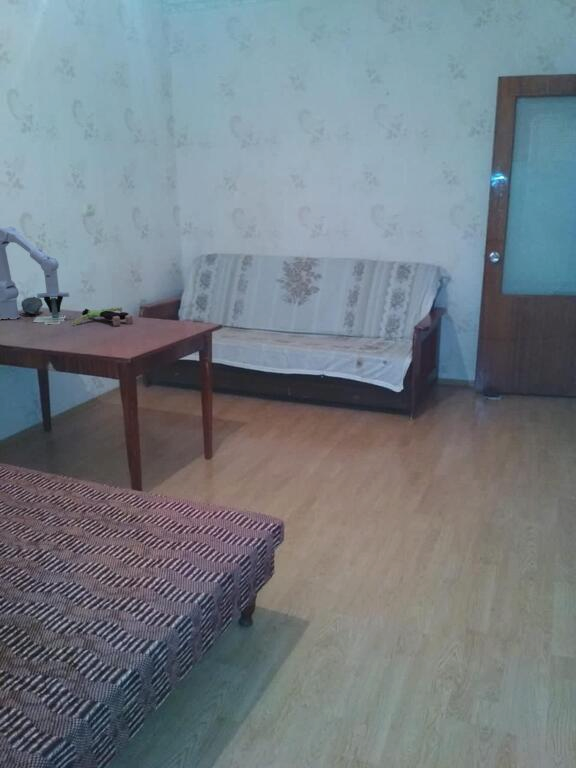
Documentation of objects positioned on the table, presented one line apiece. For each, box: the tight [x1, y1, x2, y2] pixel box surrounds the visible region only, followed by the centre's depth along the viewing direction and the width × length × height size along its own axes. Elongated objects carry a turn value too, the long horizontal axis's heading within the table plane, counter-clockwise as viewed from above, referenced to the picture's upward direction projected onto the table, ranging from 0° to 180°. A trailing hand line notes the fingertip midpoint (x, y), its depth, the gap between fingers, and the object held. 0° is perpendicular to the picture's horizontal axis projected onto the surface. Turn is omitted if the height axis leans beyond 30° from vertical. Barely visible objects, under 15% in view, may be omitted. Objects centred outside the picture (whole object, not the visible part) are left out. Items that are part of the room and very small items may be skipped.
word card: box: [43, 321, 61, 326], centre depth 298 cm, size 7×5×1 cm
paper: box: [33, 315, 67, 323], centre depth 307 cm, size 14×13×1 cm
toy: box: [70, 306, 134, 327], centre depth 302 cm, size 32×7×30 cm
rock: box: [20, 296, 44, 315], centre depth 320 cm, size 16×8×10 cm
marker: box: [50, 297, 60, 318], centre depth 303 cm, size 3×3×10 cm
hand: (55, 312), depth 304 cm, fingers closed on marker, 3 cm apart
